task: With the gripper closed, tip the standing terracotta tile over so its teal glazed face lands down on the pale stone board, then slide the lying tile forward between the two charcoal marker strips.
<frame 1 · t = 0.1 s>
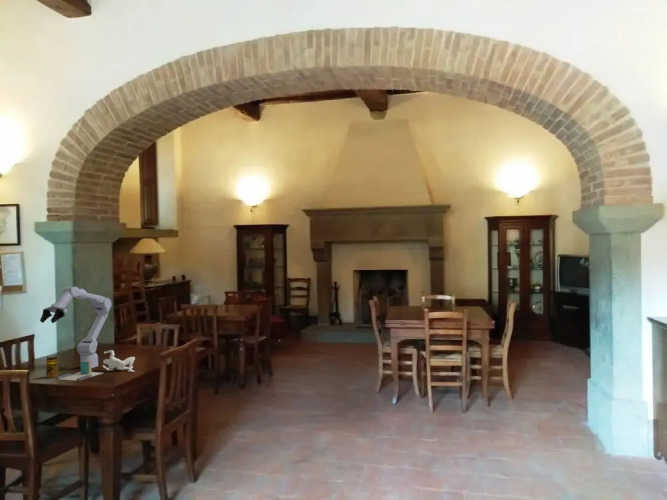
hand: (46, 321, 287), 32 cm above the table, tool tilted 50°, fingers open, 7 cm apart
person figurine: (118, 372, 303), on the table
tile: (86, 373, 297), point 1 cm above the table, touching board
board: (80, 377, 292), on the table
condiment: (53, 378, 291), on the table
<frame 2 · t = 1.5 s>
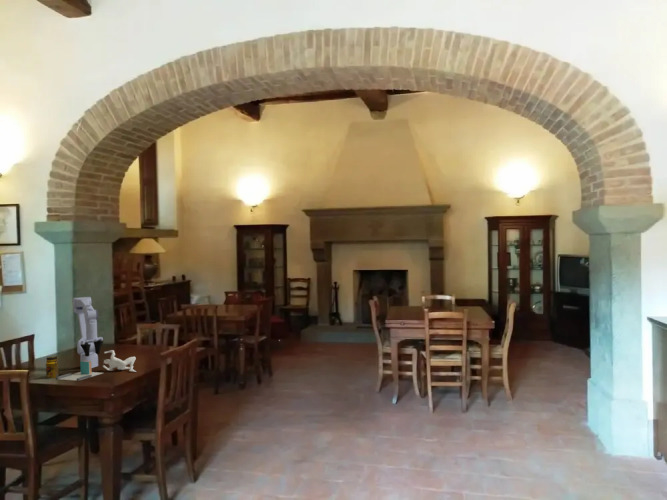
hand: (92, 355, 301), 10 cm above the table, tool pointing down, fingers open, 7 cm apart
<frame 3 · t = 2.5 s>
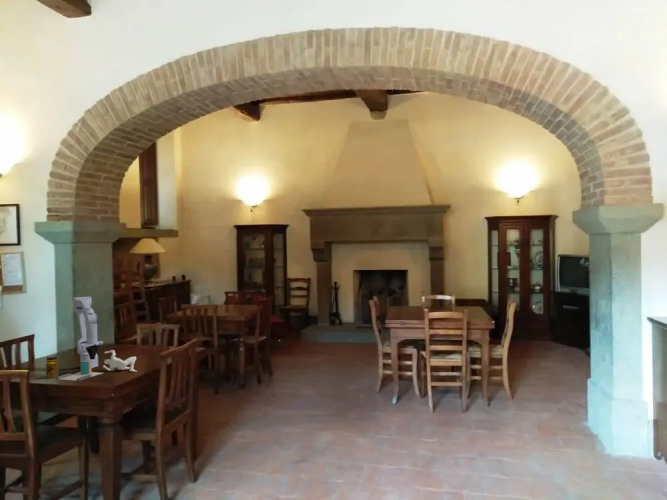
hand: (92, 359, 302), 8 cm above the table, tool pointing down, fingers closed
nothing on the table moved.
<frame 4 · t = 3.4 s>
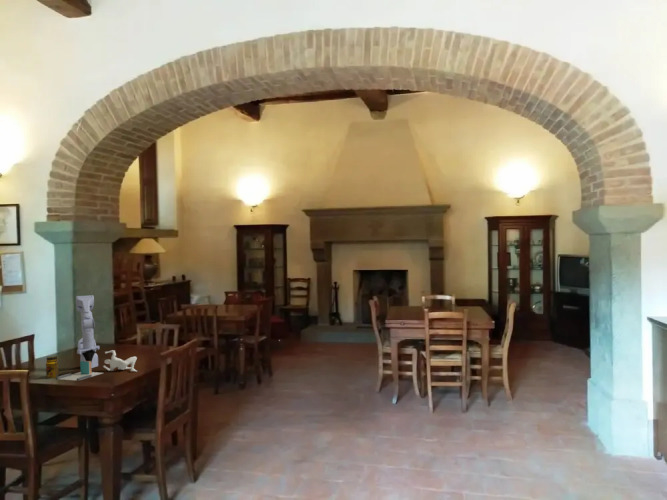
hand: (89, 364, 299), 6 cm above the table, tool pointing down, fingers closed
tile: (86, 373, 297), point 1 cm above the table, touching board, gripper
everything else where it was.
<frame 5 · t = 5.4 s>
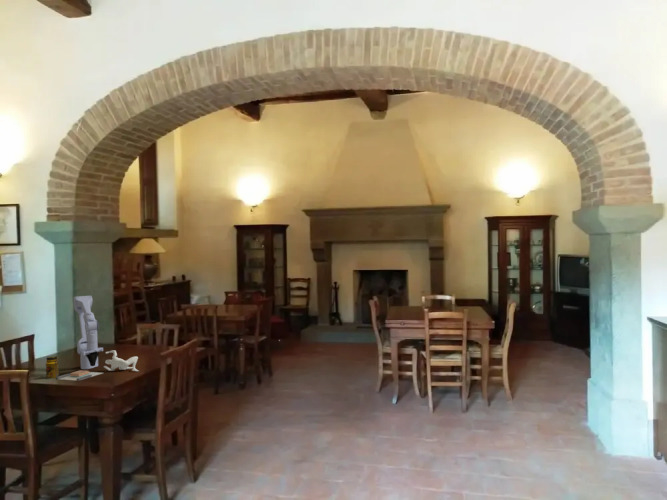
hand: (92, 365, 301), 4 cm above the table, tool pointing down, fingers closed
tile: (84, 372, 296), point 2 cm above the table, tilted 90°, touching board
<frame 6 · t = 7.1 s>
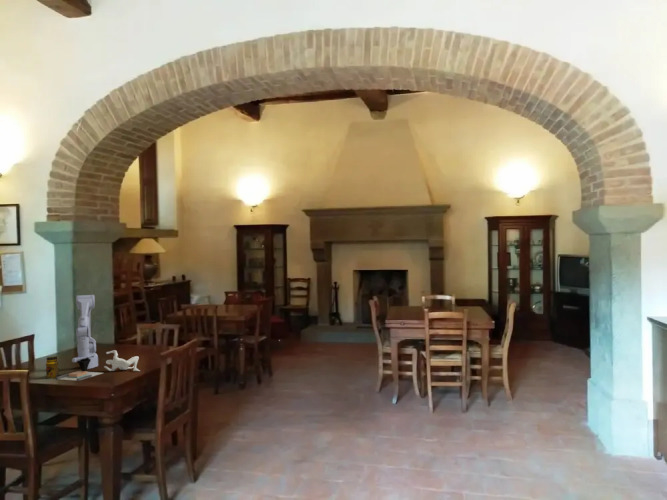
hand: (84, 372, 296), 2 cm above the table, tool pointing down, fingers closed
tile: (82, 372, 295), point 2 cm above the table, tilted 90°, touching board, gripper
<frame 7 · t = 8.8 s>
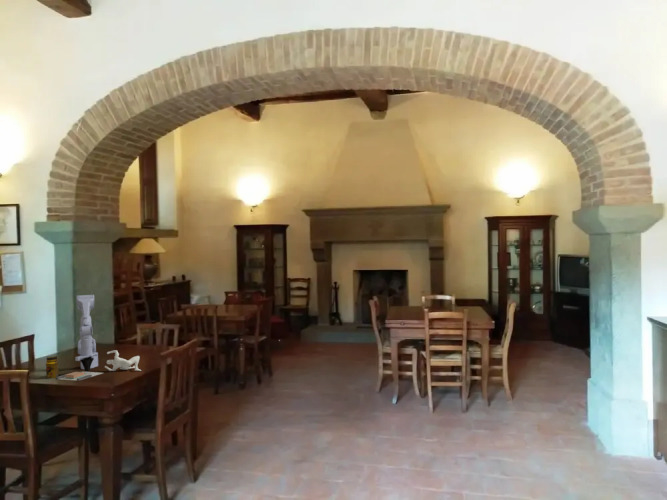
hand: (87, 371, 298), 2 cm above the table, tool pointing down, fingers closed
tile: (79, 373, 293), point 2 cm above the table, tilted 90°, touching board
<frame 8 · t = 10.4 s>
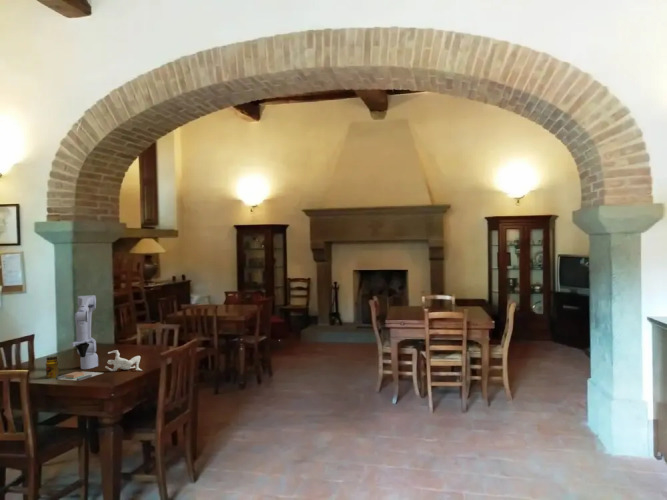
hand: (82, 357, 296), 10 cm above the table, tool pointing down, fingers closed
at the end: tile tilted 90°; tile inside the target area (2.9 cm from its centre), point 1.8 cm above the table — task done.
